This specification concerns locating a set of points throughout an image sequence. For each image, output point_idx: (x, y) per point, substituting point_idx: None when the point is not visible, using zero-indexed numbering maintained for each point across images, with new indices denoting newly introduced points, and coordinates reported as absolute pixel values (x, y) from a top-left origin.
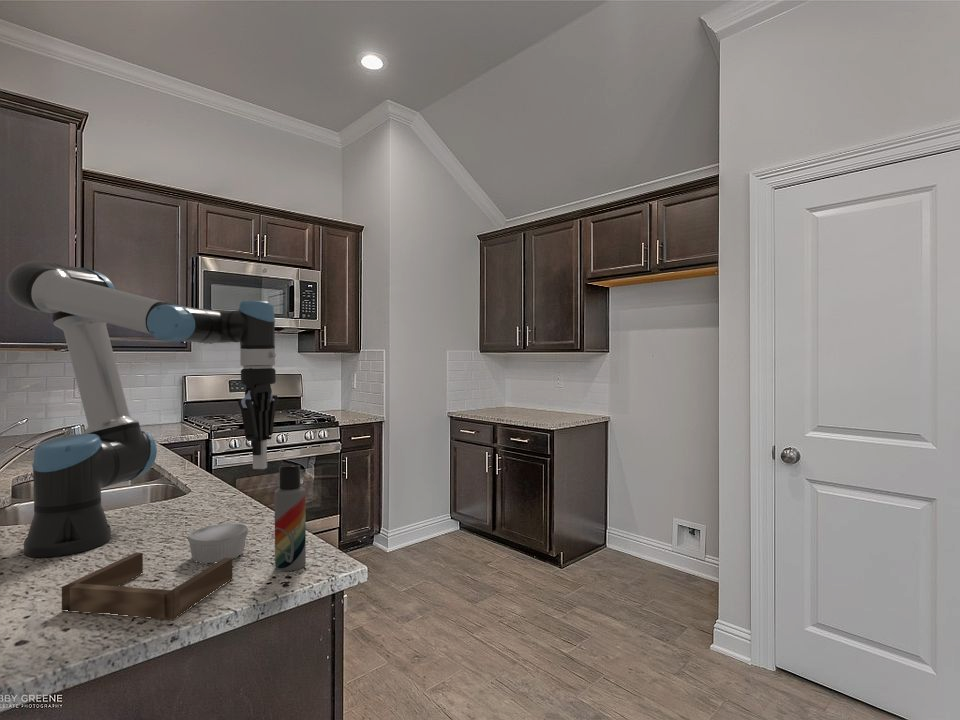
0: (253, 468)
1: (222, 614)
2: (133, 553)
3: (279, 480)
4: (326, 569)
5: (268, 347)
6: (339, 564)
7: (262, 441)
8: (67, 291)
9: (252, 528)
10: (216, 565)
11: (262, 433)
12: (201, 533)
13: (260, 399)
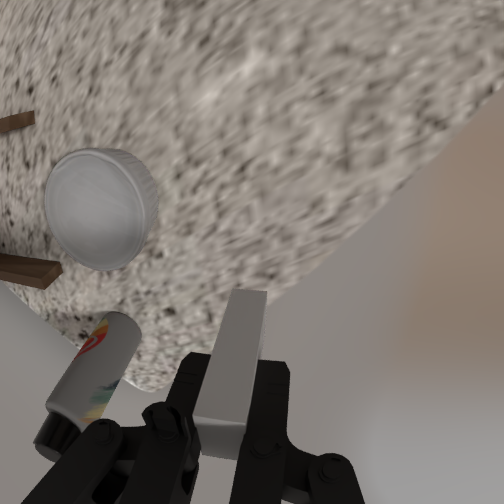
0: (232, 292)
1: (20, 298)
2: (5, 117)
3: (43, 423)
4: (133, 367)
5: None
6: (152, 377)
7: (203, 450)
8: None
9: (299, 167)
10: (24, 281)
11: (191, 496)
12: (69, 186)
13: None
